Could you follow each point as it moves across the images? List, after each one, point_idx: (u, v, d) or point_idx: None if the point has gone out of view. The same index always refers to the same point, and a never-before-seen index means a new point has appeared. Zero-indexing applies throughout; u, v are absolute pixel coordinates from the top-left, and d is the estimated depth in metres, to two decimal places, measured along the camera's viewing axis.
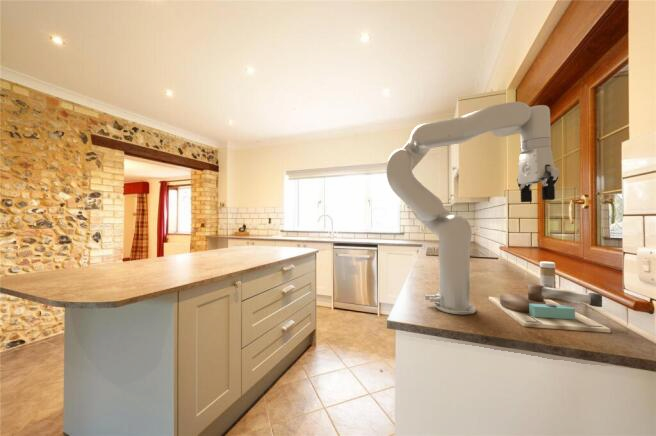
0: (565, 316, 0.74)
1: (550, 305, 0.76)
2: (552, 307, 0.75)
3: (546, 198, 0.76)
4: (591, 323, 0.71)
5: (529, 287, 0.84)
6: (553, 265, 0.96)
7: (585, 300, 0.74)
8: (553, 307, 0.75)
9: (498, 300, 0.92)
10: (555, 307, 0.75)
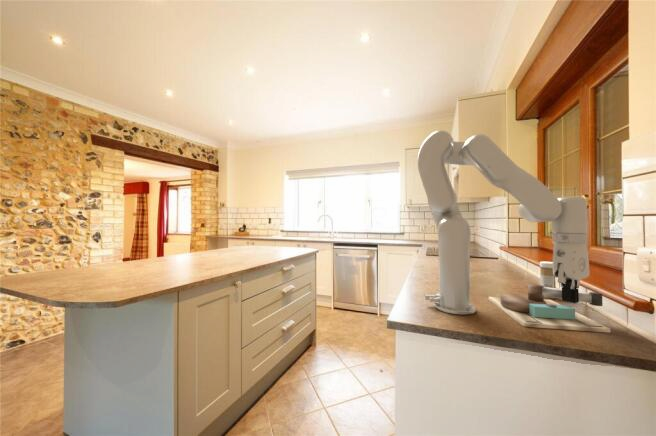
0: (565, 316, 0.74)
1: (550, 305, 0.76)
2: (552, 307, 0.75)
3: None
4: (591, 323, 0.71)
5: (529, 287, 0.83)
6: None
7: (586, 299, 0.74)
8: (553, 307, 0.75)
9: (498, 300, 0.92)
10: (555, 307, 0.75)
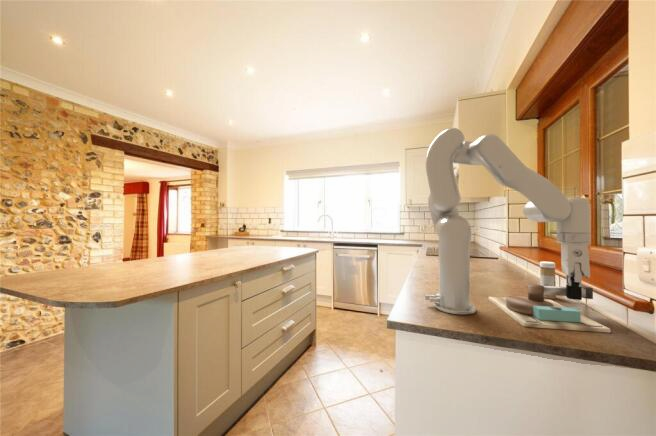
0: (570, 319, 0.72)
1: (555, 307, 0.74)
2: (557, 310, 0.73)
3: None
4: (591, 323, 0.71)
5: (533, 288, 0.82)
6: (553, 265, 0.96)
7: None
8: (558, 310, 0.73)
9: (498, 300, 0.92)
10: (560, 310, 0.73)
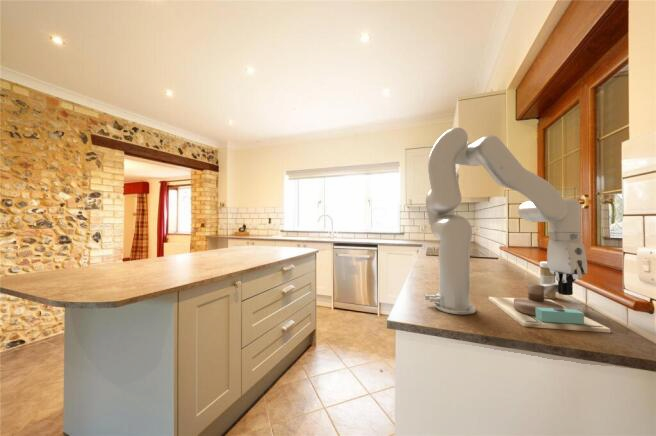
0: (574, 321, 0.70)
1: (558, 309, 0.72)
2: (560, 311, 0.71)
3: None
4: (591, 323, 0.71)
5: (537, 289, 0.82)
6: None
7: None
8: (561, 311, 0.71)
9: (498, 300, 0.92)
10: (563, 311, 0.71)
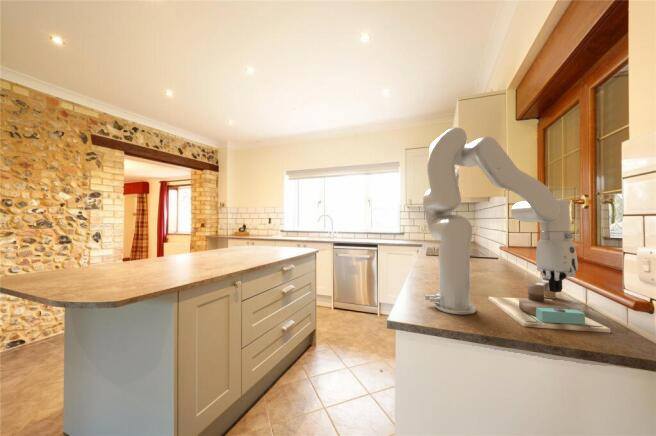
0: (574, 321, 0.70)
1: (558, 309, 0.72)
2: (561, 312, 0.71)
3: None
4: (591, 323, 0.71)
5: (540, 289, 0.81)
6: None
7: None
8: (562, 312, 0.71)
9: (498, 300, 0.92)
10: (564, 312, 0.71)
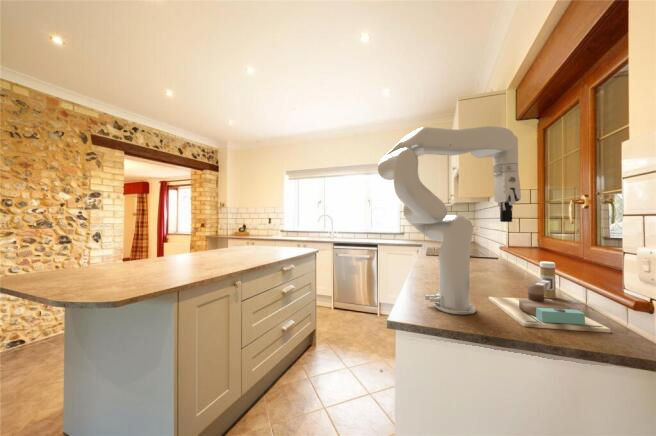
0: (574, 321, 0.70)
1: (558, 309, 0.72)
2: (561, 312, 0.71)
3: None
4: (591, 323, 0.71)
5: (540, 289, 0.81)
6: (553, 265, 0.96)
7: (549, 286, 0.90)
8: (562, 312, 0.71)
9: (498, 300, 0.92)
10: (564, 312, 0.71)
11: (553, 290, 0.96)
